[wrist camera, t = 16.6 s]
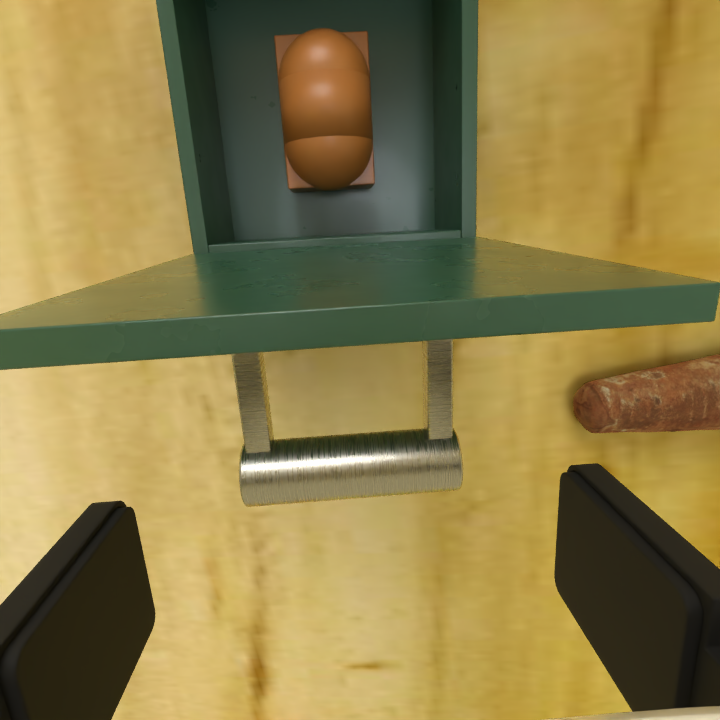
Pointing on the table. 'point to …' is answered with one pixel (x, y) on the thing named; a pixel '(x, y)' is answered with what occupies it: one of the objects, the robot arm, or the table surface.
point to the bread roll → (326, 109)
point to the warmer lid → (345, 336)
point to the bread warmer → (265, 134)
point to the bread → (653, 399)
